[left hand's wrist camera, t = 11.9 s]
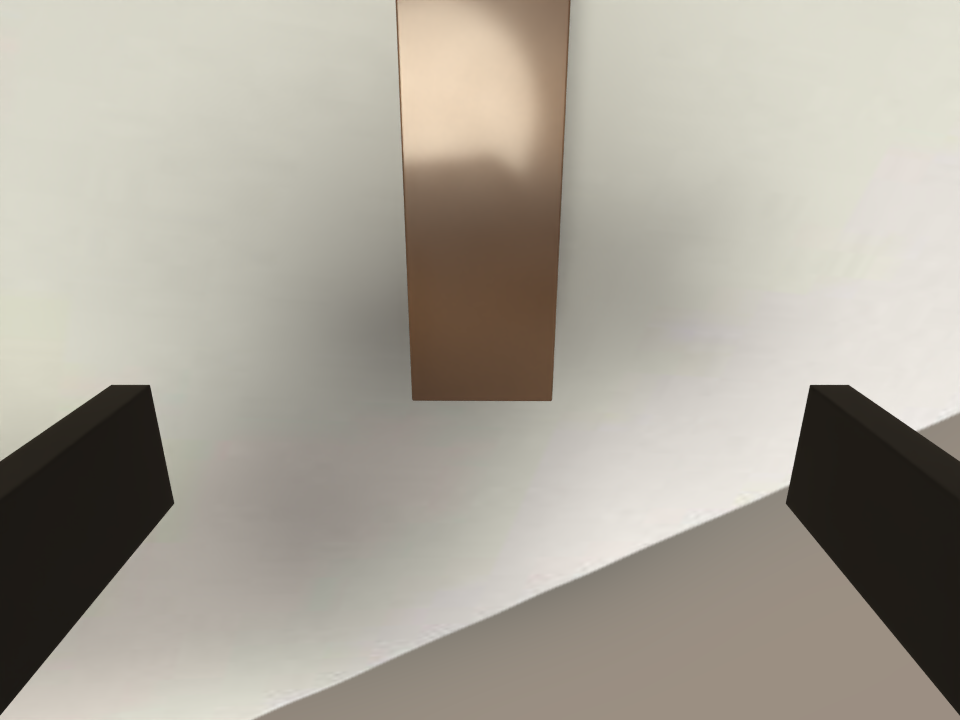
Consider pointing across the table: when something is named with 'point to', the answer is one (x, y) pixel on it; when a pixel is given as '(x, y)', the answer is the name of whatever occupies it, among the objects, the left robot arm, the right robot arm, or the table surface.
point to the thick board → (482, 193)
